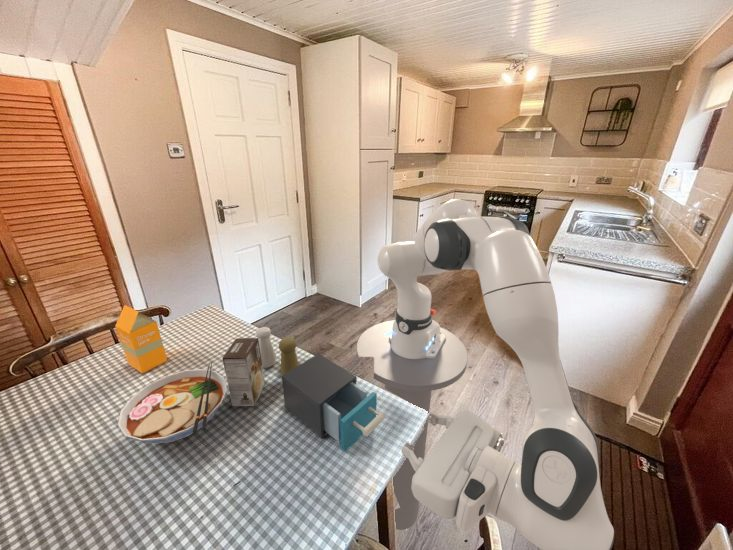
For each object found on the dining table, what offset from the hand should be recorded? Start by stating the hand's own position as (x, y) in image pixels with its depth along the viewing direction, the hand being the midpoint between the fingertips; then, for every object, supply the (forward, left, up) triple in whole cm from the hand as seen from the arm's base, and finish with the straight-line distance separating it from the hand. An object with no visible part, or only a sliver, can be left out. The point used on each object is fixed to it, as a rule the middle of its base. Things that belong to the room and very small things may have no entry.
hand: (417, 430), depth 59 cm
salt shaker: (-1, -56, -13) cm, 58 cm away
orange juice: (+24, -86, -13) cm, 90 cm away
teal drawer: (0, -19, -12) cm, 23 cm away
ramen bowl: (+26, -52, -13) cm, 60 cm away
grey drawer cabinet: (0, -29, -13) cm, 32 cm away
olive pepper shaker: (-4, -48, -13) cm, 50 cm away
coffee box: (+10, -48, -13) cm, 51 cm away
